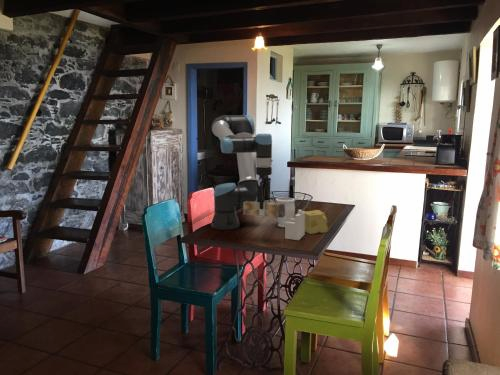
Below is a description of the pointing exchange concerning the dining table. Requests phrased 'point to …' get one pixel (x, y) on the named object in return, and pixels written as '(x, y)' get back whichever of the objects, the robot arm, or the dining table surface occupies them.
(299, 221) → the white u-channel bracket
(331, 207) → the dining table surface
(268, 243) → the dining table surface
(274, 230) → the dining table surface
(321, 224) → the cheese
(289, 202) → the white cup
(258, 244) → the dining table surface
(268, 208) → the rail
